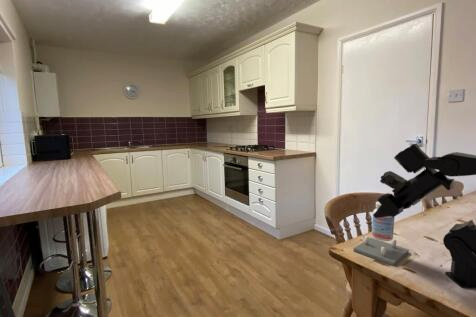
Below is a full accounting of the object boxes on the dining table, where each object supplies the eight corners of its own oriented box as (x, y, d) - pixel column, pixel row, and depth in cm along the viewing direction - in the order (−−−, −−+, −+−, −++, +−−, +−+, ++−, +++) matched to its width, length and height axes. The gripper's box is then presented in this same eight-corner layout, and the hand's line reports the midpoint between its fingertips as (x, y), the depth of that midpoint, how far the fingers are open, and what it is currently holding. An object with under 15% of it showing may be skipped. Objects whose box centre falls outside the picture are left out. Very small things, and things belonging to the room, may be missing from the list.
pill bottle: (370, 238, 85) (371, 204, 84) (373, 232, 90) (374, 199, 89) (392, 243, 82) (393, 207, 80) (394, 236, 87) (396, 202, 85)
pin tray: (408, 252, 86) (409, 242, 86) (393, 265, 79) (394, 254, 78) (370, 240, 95) (370, 230, 95) (353, 251, 88) (353, 240, 87)
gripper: (411, 160, 86) (374, 188, 96) (386, 167, 74) (347, 198, 84) (439, 188, 81) (397, 215, 91) (418, 201, 69) (372, 230, 79)
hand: (378, 214), depth 86 cm, fingers closed on pill bottle, 6 cm apart
